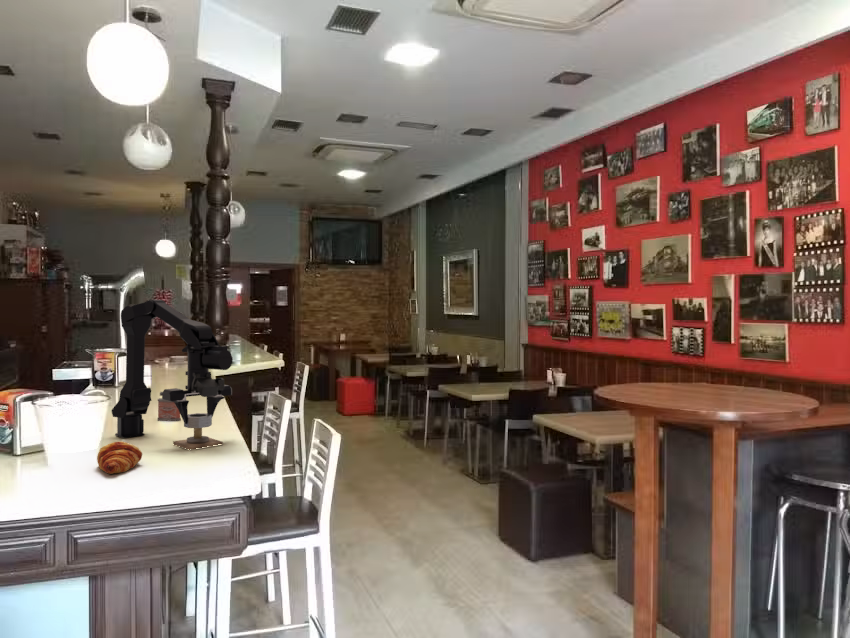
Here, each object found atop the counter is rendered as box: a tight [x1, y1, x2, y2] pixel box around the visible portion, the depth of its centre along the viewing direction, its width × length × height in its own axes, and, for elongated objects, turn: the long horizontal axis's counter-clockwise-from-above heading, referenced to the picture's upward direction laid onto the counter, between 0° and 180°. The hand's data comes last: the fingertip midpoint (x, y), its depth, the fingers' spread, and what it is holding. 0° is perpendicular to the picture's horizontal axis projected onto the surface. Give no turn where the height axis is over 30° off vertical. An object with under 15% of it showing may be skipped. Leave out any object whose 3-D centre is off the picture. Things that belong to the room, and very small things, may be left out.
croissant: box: [96, 441, 143, 475], centre depth 160 cm, size 21×10×8 cm, turn 18°
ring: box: [183, 412, 213, 429], centre depth 185 cm, size 7×7×3 cm
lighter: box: [157, 391, 182, 422], centre depth 223 cm, size 8×3×10 cm, turn 84°
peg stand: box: [172, 428, 224, 451], centre depth 185 cm, size 10×10×7 cm
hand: (197, 422), depth 185 cm, fingers closed on ring, 7 cm apart
